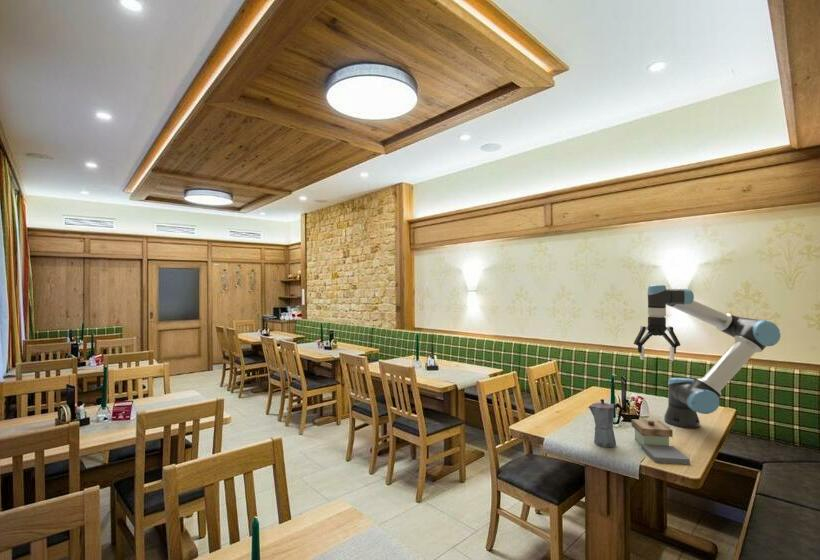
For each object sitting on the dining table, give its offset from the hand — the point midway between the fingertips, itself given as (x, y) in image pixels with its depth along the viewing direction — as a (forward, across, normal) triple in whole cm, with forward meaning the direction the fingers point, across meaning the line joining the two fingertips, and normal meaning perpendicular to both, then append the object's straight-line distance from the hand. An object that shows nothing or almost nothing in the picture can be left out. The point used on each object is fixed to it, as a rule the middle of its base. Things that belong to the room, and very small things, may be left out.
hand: (656, 360), depth 195 cm
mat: (+35, +10, +30) cm, 47 cm away
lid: (+29, +10, +18) cm, 35 cm away
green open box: (+35, +10, +18) cm, 40 cm away
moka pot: (+35, +30, +20) cm, 50 cm away
